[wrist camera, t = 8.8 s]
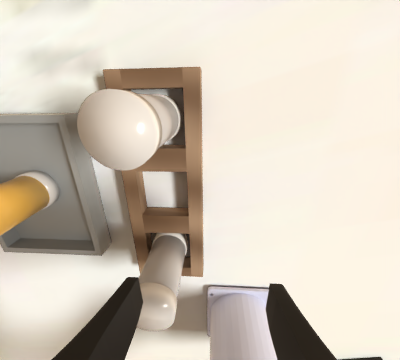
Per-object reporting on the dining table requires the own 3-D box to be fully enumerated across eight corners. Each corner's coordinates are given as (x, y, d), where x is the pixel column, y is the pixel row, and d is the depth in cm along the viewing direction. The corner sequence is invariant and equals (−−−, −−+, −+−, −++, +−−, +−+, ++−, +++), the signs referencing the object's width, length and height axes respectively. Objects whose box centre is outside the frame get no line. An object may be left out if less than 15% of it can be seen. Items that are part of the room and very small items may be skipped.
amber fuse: (64, 204, 20) (-26, 267, 12) (30, 203, 20) (-77, 264, 13) (53, 170, 18) (-56, 218, 11) (17, 169, 18) (-114, 216, 11)
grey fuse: (188, 254, 22) (176, 332, 14) (156, 253, 22) (128, 329, 15) (187, 227, 20) (172, 299, 13) (153, 226, 21) (120, 296, 13)
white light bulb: (183, 140, 17) (159, 171, 9) (142, 140, 17) (87, 169, 10) (181, 94, 15) (151, 88, 8) (136, 94, 16) (67, 89, 8)
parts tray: (111, 242, 22) (102, 255, 20) (21, 239, 23) (4, 251, 21) (80, 113, 16) (63, 114, 15) (-37, 114, 17) (-67, 116, 15)
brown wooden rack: (203, 265, 22) (202, 276, 21) (144, 263, 23) (140, 274, 21) (201, 70, 15) (200, 66, 13) (112, 72, 15) (102, 69, 14)
